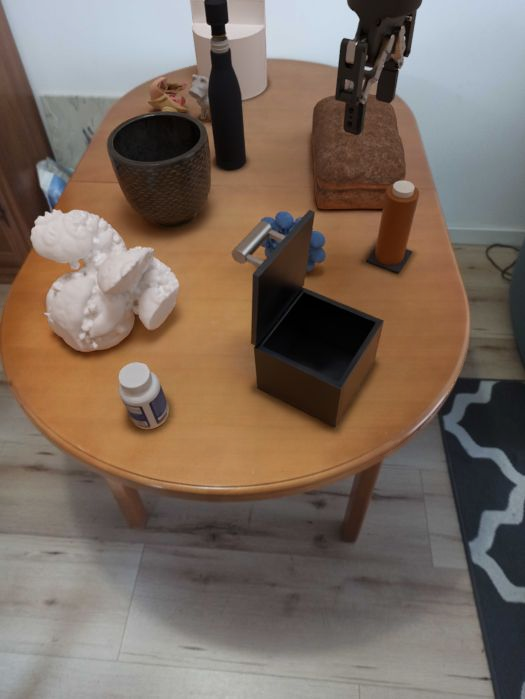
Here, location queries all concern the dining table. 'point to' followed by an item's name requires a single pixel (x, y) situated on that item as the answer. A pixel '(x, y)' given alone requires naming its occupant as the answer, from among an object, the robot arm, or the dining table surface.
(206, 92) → the dog figurine
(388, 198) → the amber bottle
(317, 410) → the black hinged box
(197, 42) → the cylinder
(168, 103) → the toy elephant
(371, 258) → the coaster
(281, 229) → the grapes
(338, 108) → the bread
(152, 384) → the pill bottle
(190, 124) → the planter
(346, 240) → the dining table surface
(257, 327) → the lid
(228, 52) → the black water bottle
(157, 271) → the white lumpy sculpture
